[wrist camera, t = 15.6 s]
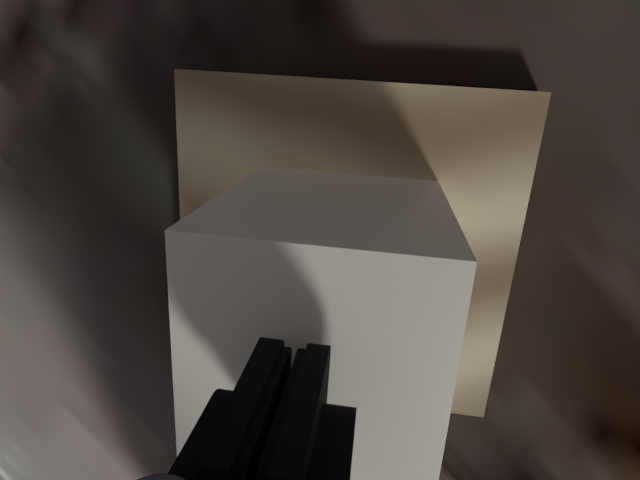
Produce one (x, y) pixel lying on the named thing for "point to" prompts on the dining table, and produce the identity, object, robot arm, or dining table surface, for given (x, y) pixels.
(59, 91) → the dining table surface
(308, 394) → the robot arm
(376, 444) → the matte grey cube
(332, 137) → the post stand
